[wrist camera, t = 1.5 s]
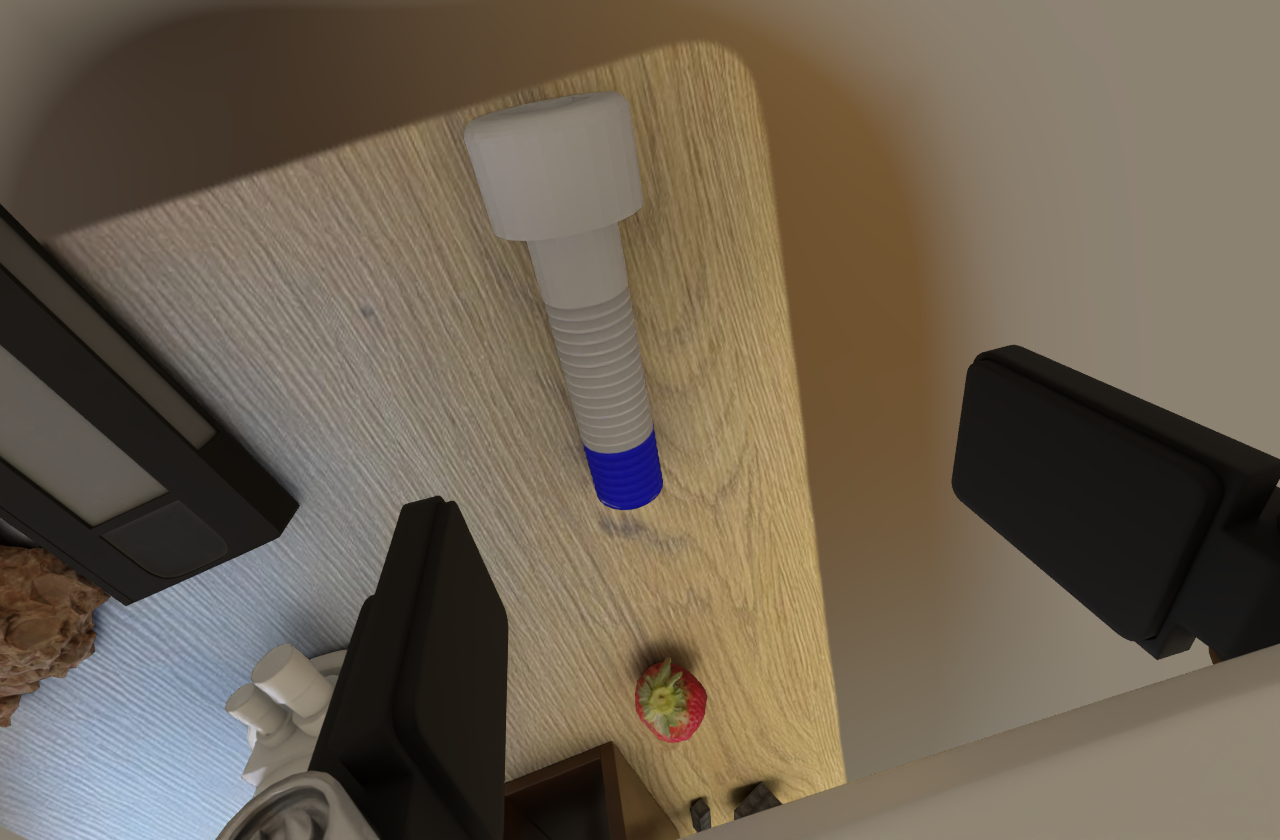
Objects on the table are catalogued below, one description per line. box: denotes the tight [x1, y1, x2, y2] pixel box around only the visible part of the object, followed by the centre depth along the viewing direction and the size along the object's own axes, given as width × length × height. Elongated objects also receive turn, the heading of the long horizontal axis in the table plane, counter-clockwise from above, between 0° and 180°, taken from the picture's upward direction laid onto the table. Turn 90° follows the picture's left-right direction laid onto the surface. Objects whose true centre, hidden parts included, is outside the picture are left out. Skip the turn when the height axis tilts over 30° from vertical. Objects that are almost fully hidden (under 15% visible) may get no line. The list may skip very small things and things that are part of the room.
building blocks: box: [691, 782, 783, 833], centre depth 42 cm, size 3×6×8 cm
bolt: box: [464, 91, 663, 510], centre depth 20 cm, size 16×5×5 cm, turn 10°
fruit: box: [635, 657, 707, 743], centre depth 32 cm, size 4×6×5 cm
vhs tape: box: [0, 204, 299, 606], centre depth 19 cm, size 8×14×2 cm, turn 23°
